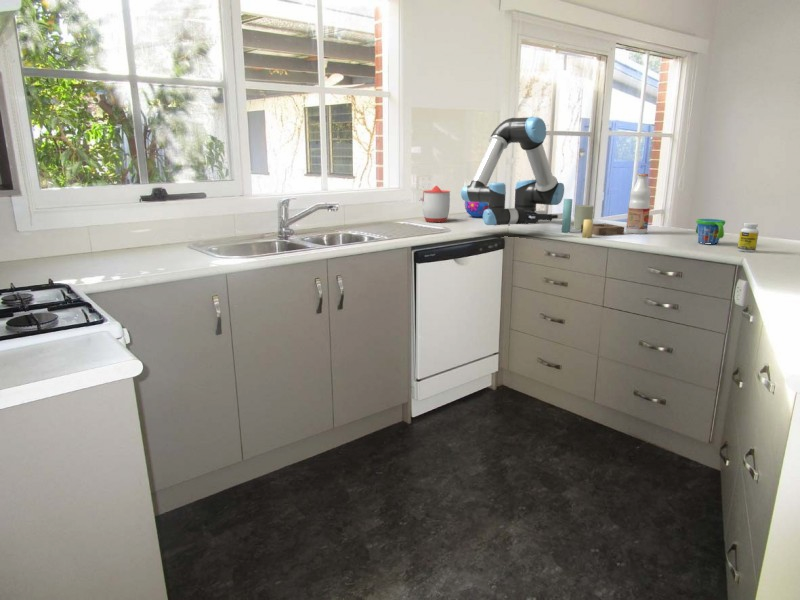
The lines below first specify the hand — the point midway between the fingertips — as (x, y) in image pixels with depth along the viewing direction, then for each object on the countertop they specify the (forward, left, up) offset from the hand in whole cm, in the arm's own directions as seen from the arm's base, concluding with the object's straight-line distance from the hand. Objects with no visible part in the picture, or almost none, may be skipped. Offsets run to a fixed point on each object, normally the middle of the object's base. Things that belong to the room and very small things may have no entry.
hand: (554, 214), depth 269 cm
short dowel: (+17, +7, -9) cm, 20 cm away
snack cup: (+49, +45, -9) cm, 67 cm away
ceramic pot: (-71, -6, -9) cm, 72 cm away
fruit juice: (+13, +38, -9) cm, 41 cm away
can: (-9, +23, -9) cm, 27 cm away
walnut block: (+8, +22, -9) cm, 25 cm away
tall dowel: (0, +7, -9) cm, 12 cm away
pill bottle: (+68, +45, -9) cm, 82 cm away
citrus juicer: (-60, -39, -9) cm, 72 cm away
